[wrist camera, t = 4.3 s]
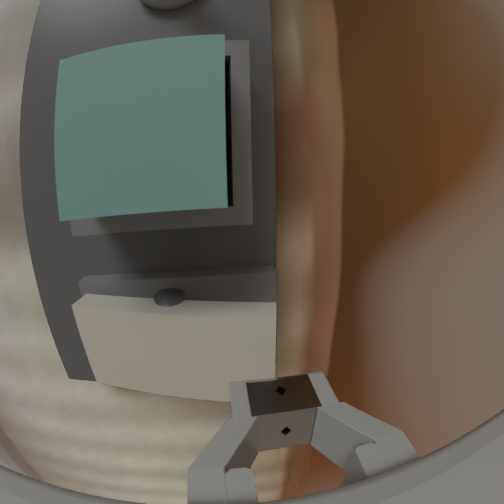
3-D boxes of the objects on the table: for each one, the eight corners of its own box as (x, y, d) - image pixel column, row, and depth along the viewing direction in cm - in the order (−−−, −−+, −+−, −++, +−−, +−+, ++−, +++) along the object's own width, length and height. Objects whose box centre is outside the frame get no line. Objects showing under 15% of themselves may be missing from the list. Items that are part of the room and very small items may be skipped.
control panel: (264, 346, 18) (286, 414, 12) (84, 351, 16) (51, 412, 11) (257, -34, 11) (277, -94, 5) (68, -9, 10) (30, -51, 4)
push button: (222, 195, 10) (227, 207, 7) (98, 205, 9) (59, 221, 6) (220, 70, 8) (224, 34, 6) (96, 84, 8) (59, 60, 5)
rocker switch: (274, 379, 12) (273, 406, 11) (113, 363, 13) (98, 385, 11) (276, 290, 11) (276, 313, 9) (92, 284, 12) (70, 300, 10)
